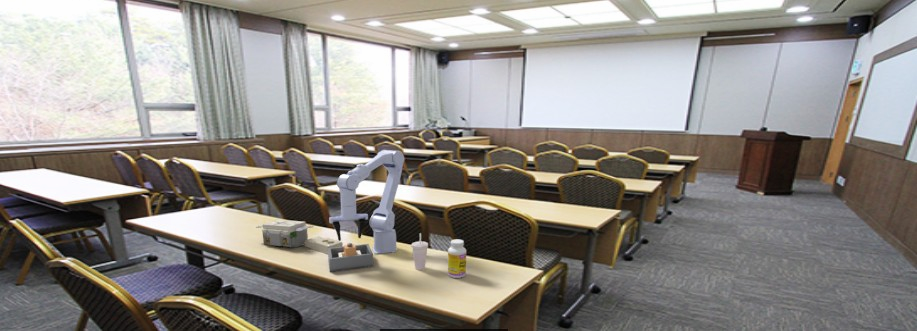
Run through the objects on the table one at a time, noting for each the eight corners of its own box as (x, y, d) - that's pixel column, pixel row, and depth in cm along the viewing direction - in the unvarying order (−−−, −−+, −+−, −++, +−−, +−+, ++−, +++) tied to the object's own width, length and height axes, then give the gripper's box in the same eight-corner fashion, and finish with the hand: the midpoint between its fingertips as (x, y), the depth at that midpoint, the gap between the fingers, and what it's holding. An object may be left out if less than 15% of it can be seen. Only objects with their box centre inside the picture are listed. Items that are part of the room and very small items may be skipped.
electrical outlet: (318, 234, 175) (342, 241, 164) (319, 242, 175) (343, 250, 164) (304, 238, 169) (328, 246, 158) (304, 247, 169) (328, 255, 159)
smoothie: (415, 272, 140) (414, 236, 139) (409, 266, 146) (408, 231, 144) (431, 269, 143) (430, 233, 142) (424, 264, 149) (424, 229, 147)
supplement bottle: (459, 280, 134) (460, 245, 132) (444, 276, 137) (444, 242, 136) (469, 273, 140) (469, 240, 138) (454, 270, 143) (454, 237, 142)
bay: (368, 255, 158) (368, 243, 158) (373, 266, 146) (373, 254, 146) (328, 260, 152) (327, 248, 152) (329, 272, 140) (329, 259, 140)
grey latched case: (298, 251, 161) (296, 228, 161) (253, 245, 174) (251, 224, 173) (319, 243, 172) (317, 221, 171) (275, 238, 184) (273, 218, 183)
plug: (356, 261, 149) (355, 244, 148) (345, 263, 147) (345, 246, 146) (354, 258, 152) (353, 241, 151) (344, 260, 150) (343, 243, 150)
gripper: (365, 201, 154) (365, 233, 155) (327, 204, 147) (328, 238, 149) (368, 204, 147) (369, 238, 149) (330, 208, 141) (331, 243, 143)
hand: (349, 238), depth 148 cm, fingers open, 7 cm apart
